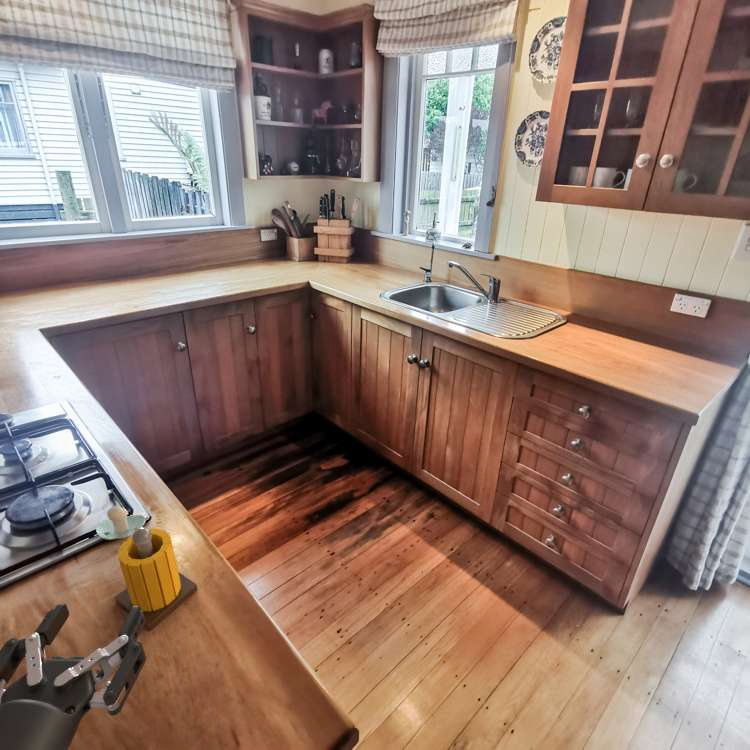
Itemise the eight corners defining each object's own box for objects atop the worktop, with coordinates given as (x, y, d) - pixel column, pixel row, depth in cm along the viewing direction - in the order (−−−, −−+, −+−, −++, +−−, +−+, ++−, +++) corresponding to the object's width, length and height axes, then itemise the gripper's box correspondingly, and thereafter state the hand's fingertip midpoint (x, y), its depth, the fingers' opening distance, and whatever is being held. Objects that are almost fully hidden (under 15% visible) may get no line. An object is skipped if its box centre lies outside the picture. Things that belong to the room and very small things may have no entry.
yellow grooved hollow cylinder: (121, 596, 67) (107, 551, 63) (162, 565, 72) (151, 522, 68) (150, 619, 64) (137, 573, 60) (190, 585, 69) (181, 541, 65)
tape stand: (115, 603, 67) (94, 535, 61) (164, 565, 73) (148, 501, 67) (149, 631, 63) (130, 563, 58) (198, 589, 70) (184, 523, 64)
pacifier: (106, 521, 81) (96, 546, 76) (98, 493, 79) (87, 517, 74) (151, 515, 83) (144, 539, 78) (144, 487, 80) (137, 510, 75)
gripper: (74, 760, 38) (157, 588, 52) (-104, 756, 37) (29, 585, 52) (95, 804, 41) (168, 631, 56) (-68, 801, 41) (48, 628, 55)
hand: (101, 609), depth 54 cm, fingers open, 8 cm apart
